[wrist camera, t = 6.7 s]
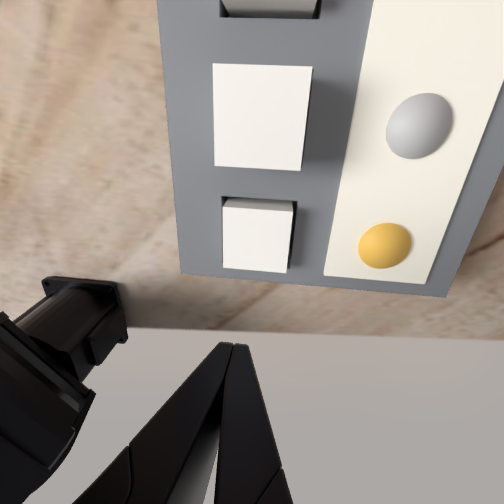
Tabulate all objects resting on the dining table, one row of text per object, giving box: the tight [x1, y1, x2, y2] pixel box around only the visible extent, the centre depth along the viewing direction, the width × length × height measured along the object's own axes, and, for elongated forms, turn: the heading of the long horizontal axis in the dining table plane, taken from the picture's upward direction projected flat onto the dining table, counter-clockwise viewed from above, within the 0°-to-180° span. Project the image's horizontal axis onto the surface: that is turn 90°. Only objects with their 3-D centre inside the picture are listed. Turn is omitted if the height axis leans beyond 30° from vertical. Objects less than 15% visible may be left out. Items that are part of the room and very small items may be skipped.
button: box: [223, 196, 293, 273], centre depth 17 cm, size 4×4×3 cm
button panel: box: [157, 0, 504, 298], centre depth 14 cm, size 17×19×4 cm
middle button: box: [213, 63, 313, 171], centre depth 13 cm, size 4×4×3 cm
